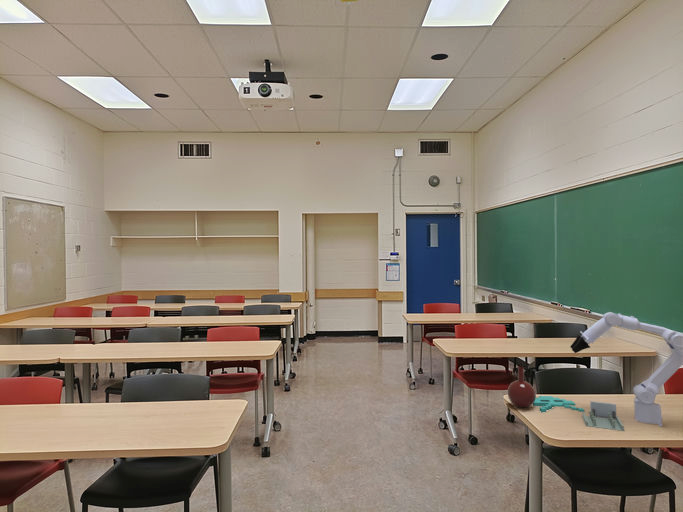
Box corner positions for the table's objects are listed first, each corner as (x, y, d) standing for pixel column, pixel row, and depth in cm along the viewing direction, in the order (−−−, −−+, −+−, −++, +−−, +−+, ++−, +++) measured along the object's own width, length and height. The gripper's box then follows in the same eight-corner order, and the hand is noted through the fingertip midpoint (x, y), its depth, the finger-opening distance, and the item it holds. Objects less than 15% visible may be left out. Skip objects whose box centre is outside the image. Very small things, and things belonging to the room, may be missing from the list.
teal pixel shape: (584, 414, 189) (565, 400, 209) (584, 409, 189) (565, 396, 209) (541, 413, 191) (526, 399, 211) (541, 408, 191) (526, 395, 211)
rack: (618, 422, 178) (617, 413, 178) (624, 433, 166) (624, 423, 166) (582, 417, 184) (581, 409, 184) (586, 427, 172) (585, 418, 172)
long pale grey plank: (615, 416, 182) (615, 403, 182) (616, 417, 181) (615, 404, 181) (590, 413, 186) (590, 401, 187) (591, 414, 185) (590, 401, 185)
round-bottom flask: (515, 412, 192) (514, 370, 193) (503, 402, 205) (502, 364, 206) (541, 411, 193) (540, 370, 194) (527, 402, 206) (526, 364, 207)
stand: (616, 417, 184) (615, 408, 184) (618, 421, 179) (618, 413, 179) (588, 413, 189) (588, 405, 189) (590, 418, 183) (590, 409, 183)
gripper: (586, 323, 195) (564, 341, 198) (590, 327, 181) (567, 346, 185) (598, 334, 192) (576, 351, 196) (603, 338, 179) (579, 357, 183)
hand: (572, 349), depth 190 cm, fingers open, 7 cm apart
